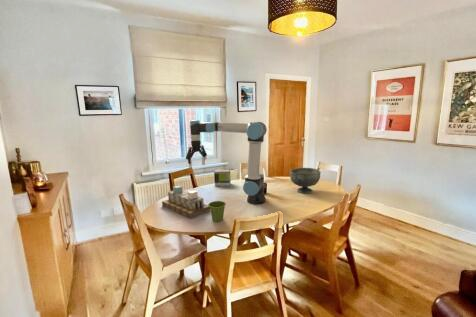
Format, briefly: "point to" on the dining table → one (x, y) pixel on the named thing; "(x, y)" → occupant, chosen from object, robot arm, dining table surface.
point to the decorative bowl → (305, 178)
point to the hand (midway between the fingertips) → (197, 166)
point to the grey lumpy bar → (186, 200)
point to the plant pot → (217, 210)
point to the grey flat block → (185, 209)
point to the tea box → (222, 177)
